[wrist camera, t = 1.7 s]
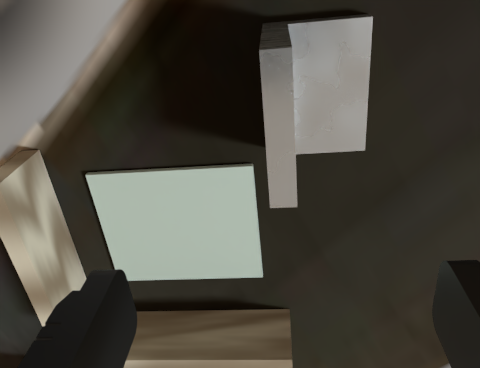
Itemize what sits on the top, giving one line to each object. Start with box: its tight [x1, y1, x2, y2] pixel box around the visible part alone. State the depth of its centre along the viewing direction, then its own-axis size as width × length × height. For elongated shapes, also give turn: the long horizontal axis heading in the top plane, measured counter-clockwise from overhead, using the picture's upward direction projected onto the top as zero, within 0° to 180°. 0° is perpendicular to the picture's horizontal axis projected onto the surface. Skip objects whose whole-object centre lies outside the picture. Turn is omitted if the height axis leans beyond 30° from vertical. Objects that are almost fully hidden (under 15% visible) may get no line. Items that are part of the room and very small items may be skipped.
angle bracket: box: [259, 14, 373, 208], centre depth 22 cm, size 8×6×8 cm
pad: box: [85, 164, 263, 281], centre depth 31 cm, size 10×12×1 cm
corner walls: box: [0, 150, 292, 368], centre depth 30 cm, size 17×18×5 cm
